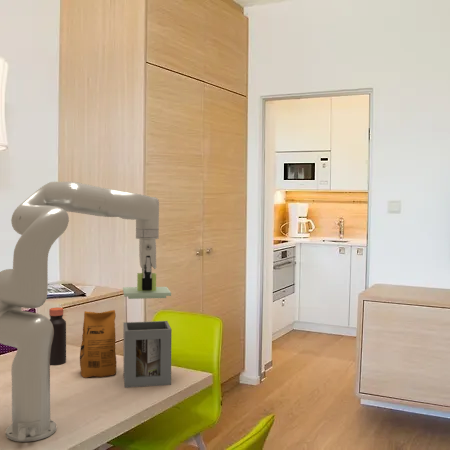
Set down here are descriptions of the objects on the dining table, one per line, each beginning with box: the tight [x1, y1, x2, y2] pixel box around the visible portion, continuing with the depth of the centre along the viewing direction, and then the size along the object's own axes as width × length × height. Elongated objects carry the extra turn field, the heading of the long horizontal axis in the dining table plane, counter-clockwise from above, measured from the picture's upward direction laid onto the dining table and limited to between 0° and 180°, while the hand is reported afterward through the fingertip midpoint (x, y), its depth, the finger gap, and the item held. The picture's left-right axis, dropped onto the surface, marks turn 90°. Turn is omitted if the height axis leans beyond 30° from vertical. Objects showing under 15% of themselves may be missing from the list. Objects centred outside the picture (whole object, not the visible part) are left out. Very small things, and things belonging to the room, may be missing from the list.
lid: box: [122, 272, 172, 300], centre depth 187 cm, size 12×15×8 cm
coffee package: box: [79, 309, 117, 379], centre depth 195 cm, size 10×12×22 cm
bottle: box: [49, 307, 67, 366], centre depth 206 cm, size 7×7×20 cm
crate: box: [122, 320, 172, 388], centre depth 189 cm, size 12×15×18 cm
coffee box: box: [136, 329, 160, 377], centre depth 189 cm, size 9×6×16 cm
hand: (146, 288), depth 187 cm, fingers closed on lid, 3 cm apart
